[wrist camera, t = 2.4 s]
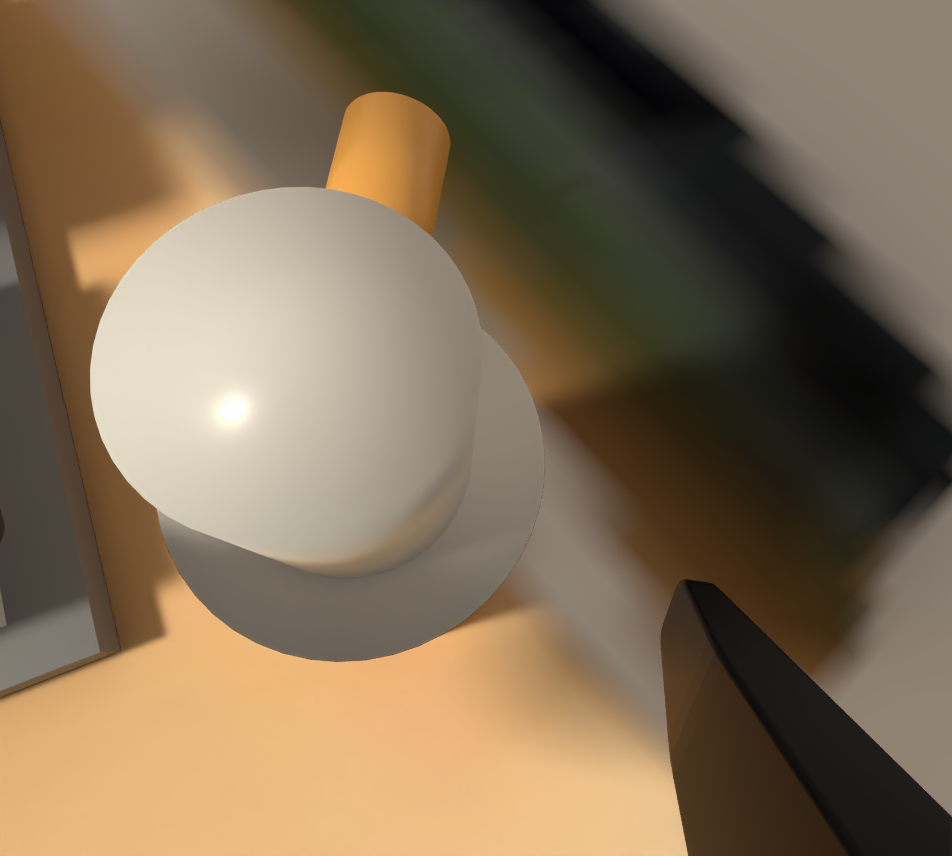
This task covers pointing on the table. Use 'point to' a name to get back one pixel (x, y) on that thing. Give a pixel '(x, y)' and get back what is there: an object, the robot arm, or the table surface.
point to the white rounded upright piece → (324, 404)
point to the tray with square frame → (40, 489)
